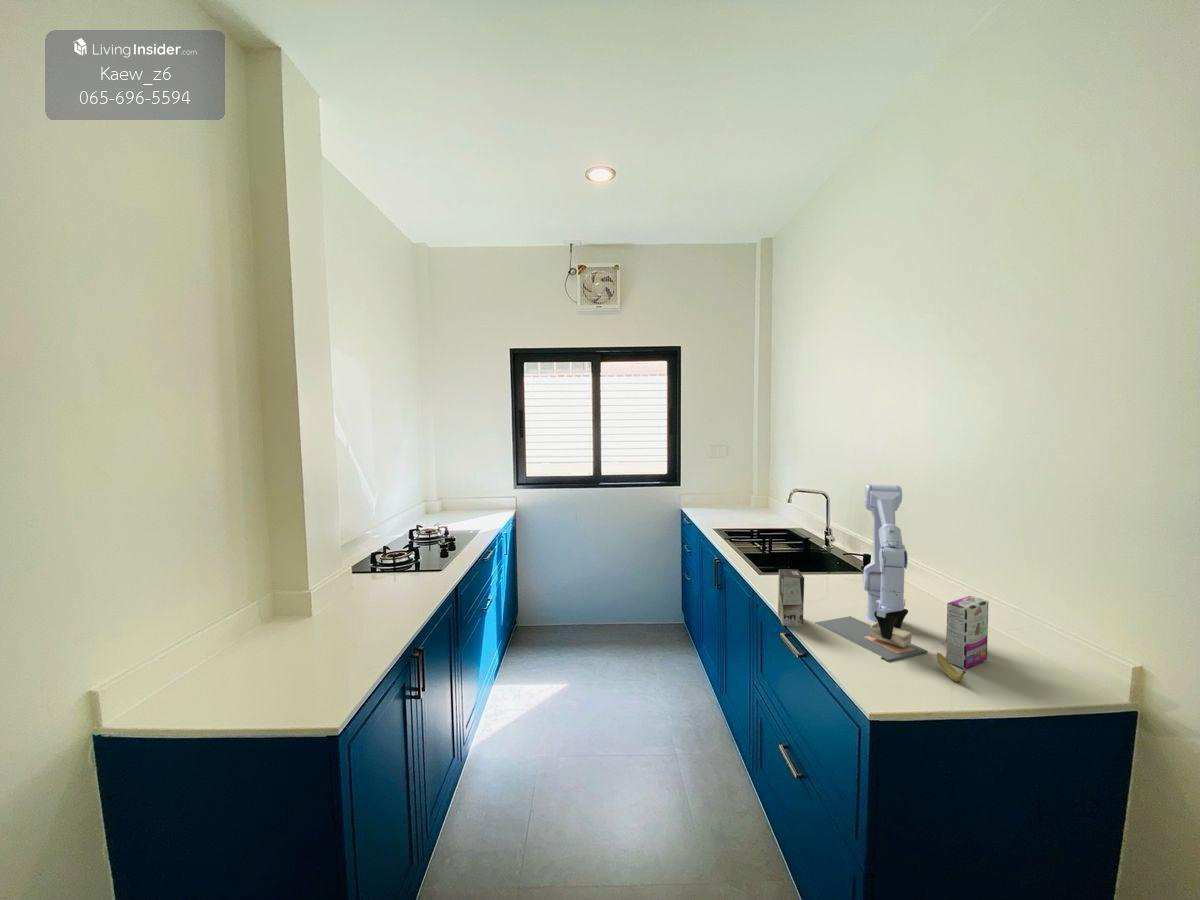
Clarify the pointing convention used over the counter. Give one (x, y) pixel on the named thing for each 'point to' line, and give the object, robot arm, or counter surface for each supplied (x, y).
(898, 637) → the card box
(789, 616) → the coffee box
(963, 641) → the candy bar box
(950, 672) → the banana
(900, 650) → the mat
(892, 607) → the robot arm
